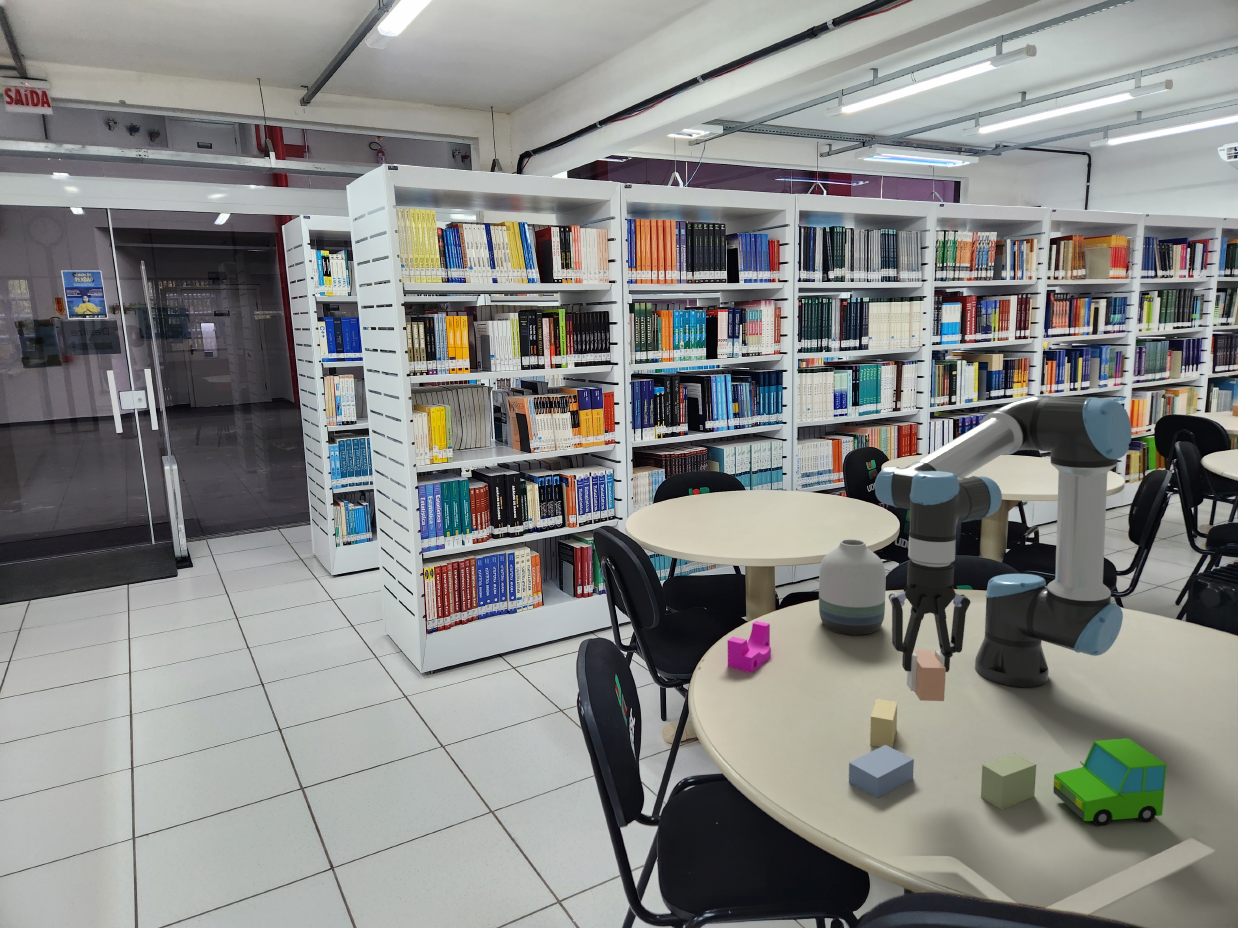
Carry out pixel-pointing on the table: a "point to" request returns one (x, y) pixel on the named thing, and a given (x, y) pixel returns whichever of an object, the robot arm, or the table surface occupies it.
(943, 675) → the brick terracotta
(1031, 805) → the table surface
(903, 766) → the brick slate
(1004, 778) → the brick olive
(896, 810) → the table surface
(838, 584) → the vase
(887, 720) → the brick ochre
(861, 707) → the table surface
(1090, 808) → the toy car
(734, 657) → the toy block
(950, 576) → the robot arm
